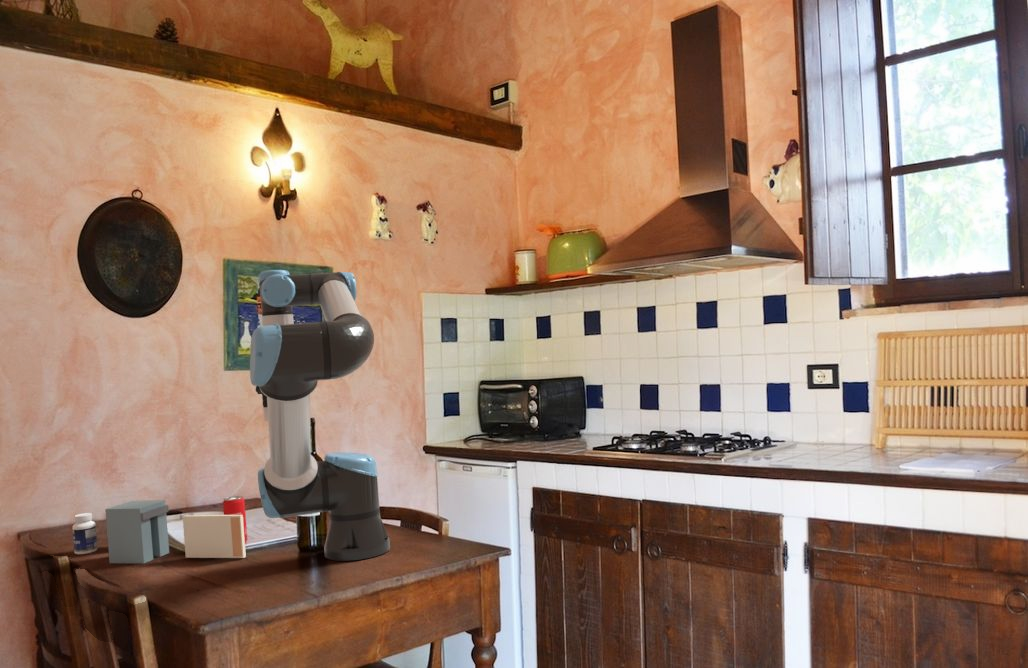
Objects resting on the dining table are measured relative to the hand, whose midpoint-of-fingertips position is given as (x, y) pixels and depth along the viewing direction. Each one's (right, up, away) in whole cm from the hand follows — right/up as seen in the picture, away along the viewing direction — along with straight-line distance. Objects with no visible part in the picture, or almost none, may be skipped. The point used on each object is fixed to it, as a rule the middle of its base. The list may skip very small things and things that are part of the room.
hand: (285, 417), depth 206 cm
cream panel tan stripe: (-14, -33, -9) cm, 37 cm away
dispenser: (-35, -34, -3) cm, 49 cm away
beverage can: (-13, -33, +3) cm, 36 cm away
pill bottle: (-54, -36, +8) cm, 65 cm away
